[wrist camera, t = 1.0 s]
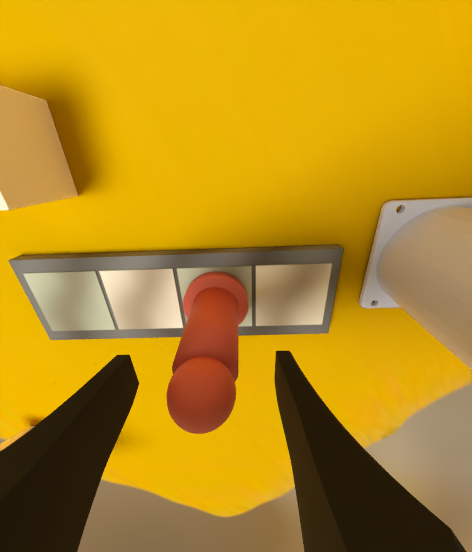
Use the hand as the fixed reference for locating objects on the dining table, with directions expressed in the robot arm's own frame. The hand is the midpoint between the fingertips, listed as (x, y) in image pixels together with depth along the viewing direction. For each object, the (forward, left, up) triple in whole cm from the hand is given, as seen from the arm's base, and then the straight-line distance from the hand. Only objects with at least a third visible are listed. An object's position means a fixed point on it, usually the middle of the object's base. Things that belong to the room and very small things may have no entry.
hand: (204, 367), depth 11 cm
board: (+3, 0, -7) cm, 8 cm away
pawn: (0, 0, -6) cm, 6 cm away
